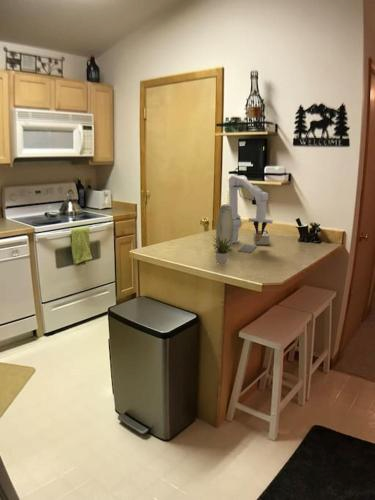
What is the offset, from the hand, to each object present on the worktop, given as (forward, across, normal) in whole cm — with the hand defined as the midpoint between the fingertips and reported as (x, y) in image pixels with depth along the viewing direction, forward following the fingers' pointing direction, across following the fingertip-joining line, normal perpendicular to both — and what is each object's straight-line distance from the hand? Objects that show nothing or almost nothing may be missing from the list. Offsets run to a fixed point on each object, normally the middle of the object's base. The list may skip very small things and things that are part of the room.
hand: (259, 234), depth 247 cm
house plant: (+10, -14, -38) cm, 42 cm away
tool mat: (+10, -7, +1) cm, 12 cm away
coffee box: (+7, -1, +15) cm, 16 cm away
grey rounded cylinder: (+10, -20, -8) cm, 24 cm away
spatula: (+2, 0, 0) cm, 2 cm away
